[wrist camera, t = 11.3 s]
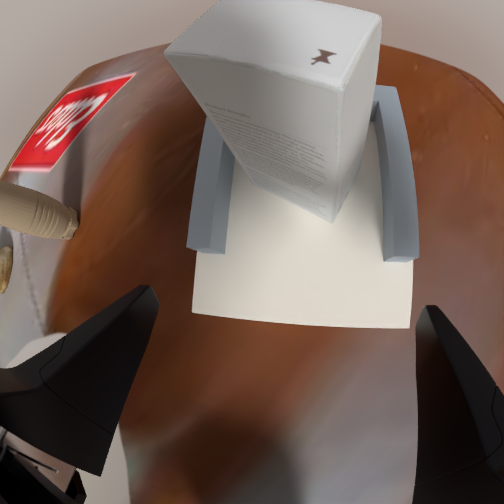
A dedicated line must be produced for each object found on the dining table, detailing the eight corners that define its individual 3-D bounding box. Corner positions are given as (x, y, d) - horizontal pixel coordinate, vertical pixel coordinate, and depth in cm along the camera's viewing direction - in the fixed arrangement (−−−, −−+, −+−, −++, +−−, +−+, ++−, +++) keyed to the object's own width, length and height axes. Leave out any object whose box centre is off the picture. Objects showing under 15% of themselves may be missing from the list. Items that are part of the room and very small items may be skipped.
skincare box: (360, 170, 16) (389, 15, 5) (332, 226, 16) (345, 93, 5) (280, 135, 18) (226, -10, 7) (249, 185, 18) (154, 55, 7)
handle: (54, 253, 24) (-63, 226, 9) (66, 196, 25) (-42, 150, 10) (78, 258, 23) (-58, 227, 8) (91, 194, 23) (-32, 137, 9)
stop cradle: (404, 326, 15) (422, 333, 12) (198, 311, 19) (172, 314, 15) (392, 111, 17) (400, 83, 14) (222, 112, 21) (206, 87, 17)
